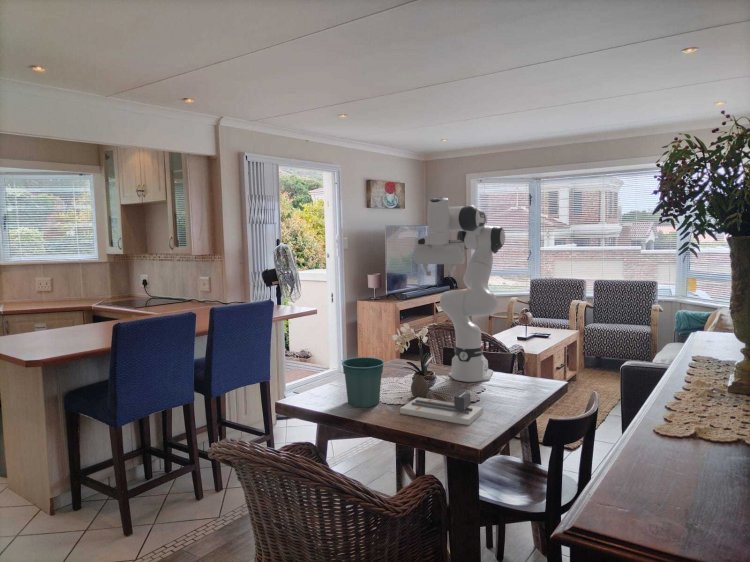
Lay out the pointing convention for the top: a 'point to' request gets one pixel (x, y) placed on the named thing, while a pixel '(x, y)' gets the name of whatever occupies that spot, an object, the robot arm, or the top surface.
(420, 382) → the vase
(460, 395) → the fader tab
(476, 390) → the top surface
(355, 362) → the flower pot
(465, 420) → the white slider track base
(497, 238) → the robot arm
